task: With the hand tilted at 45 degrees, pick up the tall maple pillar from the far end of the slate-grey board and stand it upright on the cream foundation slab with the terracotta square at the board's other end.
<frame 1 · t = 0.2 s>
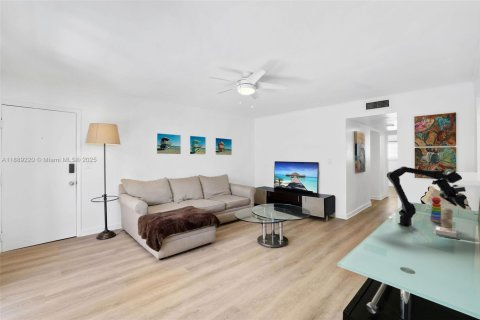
hand: (460, 207, 145), 15 cm above the table, tool tilted 35°, fingers open, 9 cm apart
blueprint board: (446, 232, 139), on the table
maple pillar: (446, 228, 144), point 1 cm above the table, touching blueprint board
stacking toy: (436, 222, 162), on the table
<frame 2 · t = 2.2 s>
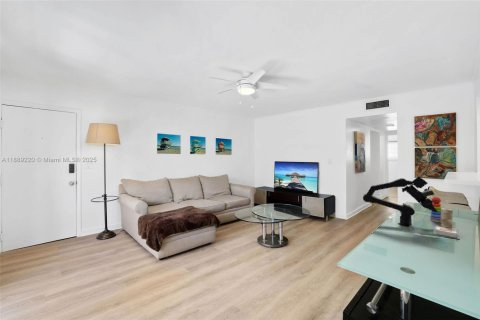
hand: (435, 210, 146), 12 cm above the table, tool tilted 45°, fingers open, 9 cm apart
nothing on the table moved.
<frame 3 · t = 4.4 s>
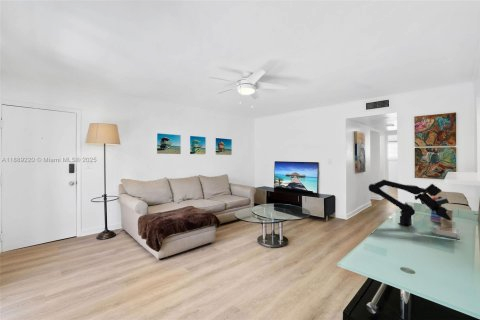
hand: (449, 219, 143), 8 cm above the table, tool tilted 45°, fingers closed on maple pillar, 5 cm apart
maple pillar: (446, 228, 144), point 1 cm above the table, touching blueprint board, gripper
everything else where it was.
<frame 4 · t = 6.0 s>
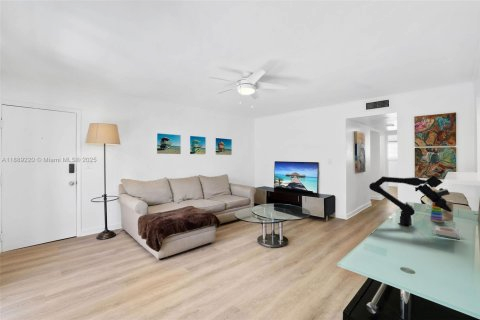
hand: (450, 210, 141), 13 cm above the table, tool tilted 45°, fingers closed on maple pillar, 5 cm apart
maple pillar: (447, 220, 142), point 7 cm above the table, touching gripper
everything else where it was.
when the fingers open (11 cm above the table, at t = 8.0 s): maple pillar drops 1 cm, resting on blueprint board.
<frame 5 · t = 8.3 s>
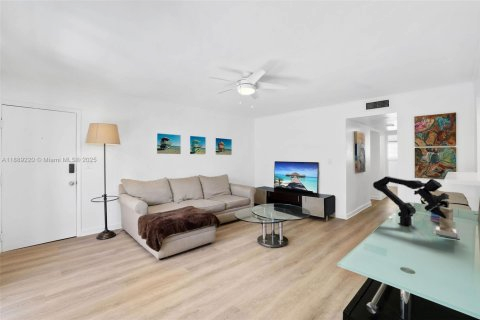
hand: (449, 217, 133), 12 cm above the table, tool tilted 45°, fingers open, 8 cm apart
maple pillar: (446, 229, 134), point 4 cm above the table, touching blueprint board
everything else where it was.
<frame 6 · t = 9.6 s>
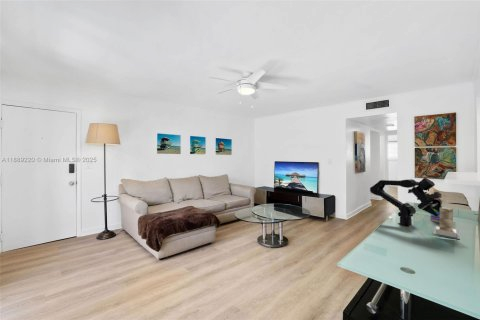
hand: (441, 215, 137), 12 cm above the table, tool tilted 45°, fingers open, 9 cm apart
nothing on the table moved.
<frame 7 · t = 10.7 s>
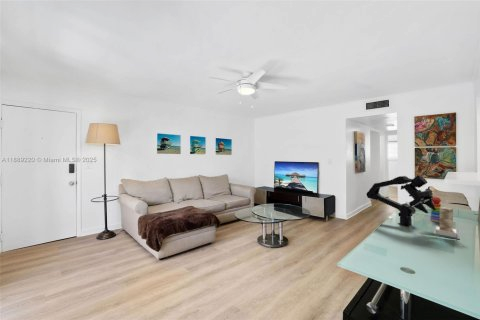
hand: (431, 211, 142), 13 cm above the table, tool tilted 40°, fingers open, 9 cm apart
nothing on the table moved.
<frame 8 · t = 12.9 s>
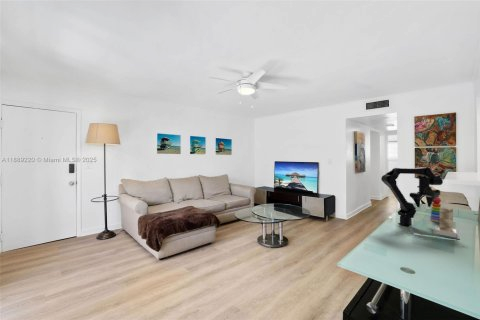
hand: (423, 207, 154), 13 cm above the table, tool pointing down, fingers open, 9 cm apart
nothing on the table moved.
at the end: maple pillar 0.0 cm from the target spot, point 3.7 cm above the table; maple pillar tilted 0°; the gripper is holding nothing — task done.
